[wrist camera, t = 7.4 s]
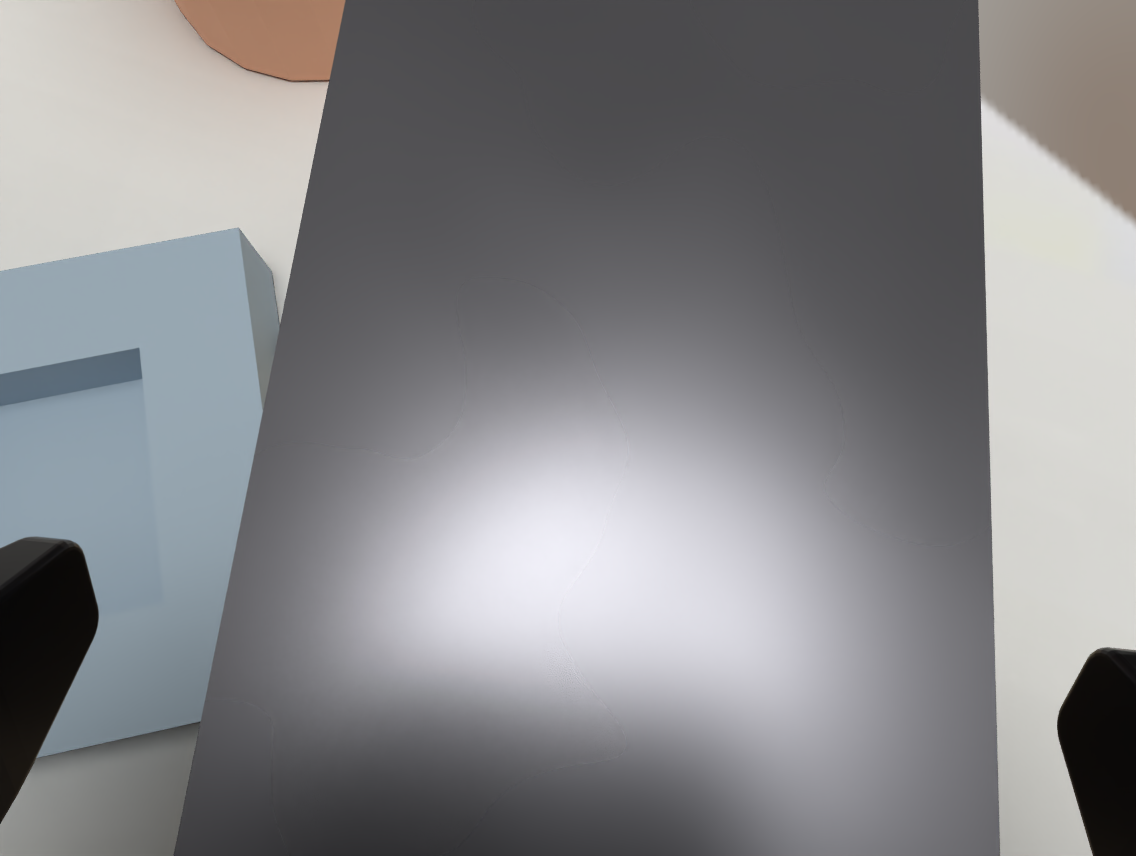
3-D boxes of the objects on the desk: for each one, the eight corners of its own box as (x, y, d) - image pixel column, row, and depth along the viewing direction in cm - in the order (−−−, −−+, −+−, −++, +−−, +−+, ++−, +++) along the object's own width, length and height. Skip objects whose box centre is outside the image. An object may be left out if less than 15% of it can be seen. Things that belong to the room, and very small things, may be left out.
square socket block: (330, 692, 16) (300, 699, 14) (-154, 800, 16) (-255, 823, 14) (271, 271, 18) (238, 227, 16) (-156, 351, 18) (-243, 315, 16)
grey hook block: (646, 761, 15) (1010, 1218, 3) (462, 741, 15) (121, 1117, 3) (669, 435, 17) (976, -101, 5) (502, 418, 17) (377, -160, 5)
